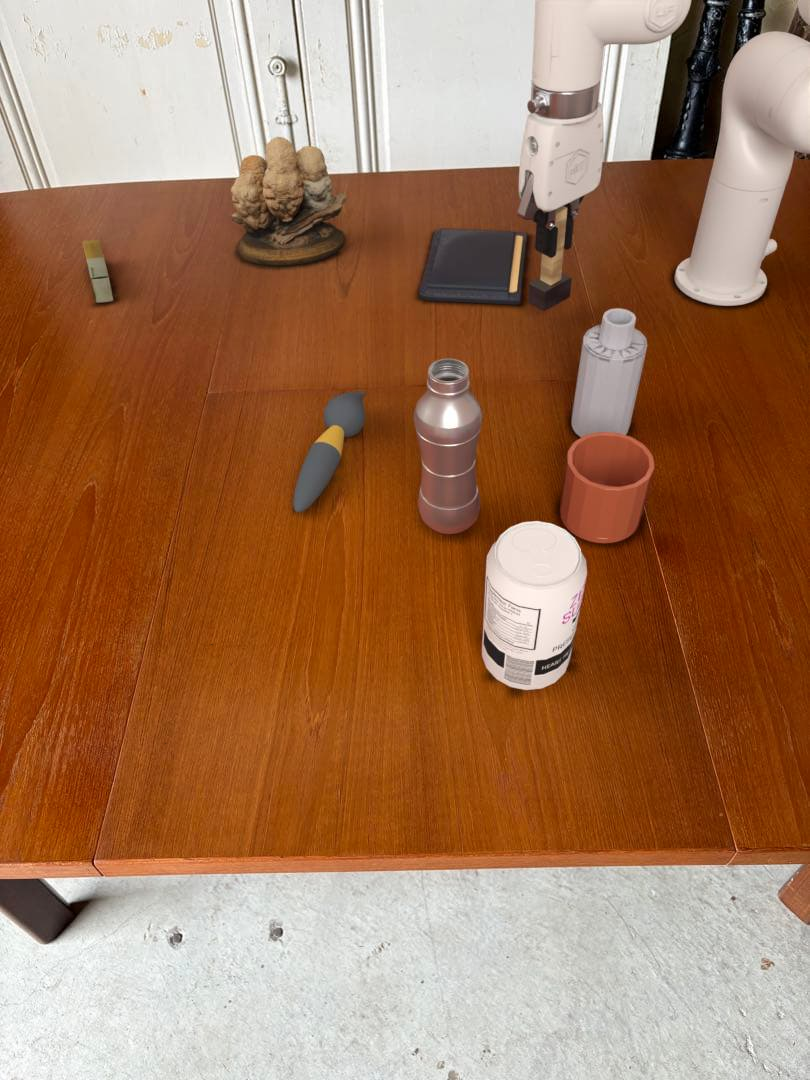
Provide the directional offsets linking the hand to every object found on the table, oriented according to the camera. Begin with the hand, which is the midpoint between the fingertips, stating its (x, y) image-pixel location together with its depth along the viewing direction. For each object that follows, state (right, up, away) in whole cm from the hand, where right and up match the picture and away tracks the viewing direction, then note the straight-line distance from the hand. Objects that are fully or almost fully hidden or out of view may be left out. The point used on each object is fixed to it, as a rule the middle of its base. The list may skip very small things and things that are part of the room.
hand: (553, 248), depth 105 cm
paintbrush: (-27, -28, -9) cm, 40 cm away
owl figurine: (-37, +9, +25) cm, 45 cm away
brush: (+1, -5, +6) cm, 8 cm away
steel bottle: (+5, -24, -7) cm, 25 cm away
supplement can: (-8, -49, -28) cm, 57 cm away
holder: (+2, -35, -16) cm, 38 cm away
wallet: (-8, +4, +19) cm, 21 cm away
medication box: (-65, +2, +20) cm, 68 cm away
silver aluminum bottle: (-14, -36, -16) cm, 41 cm away
